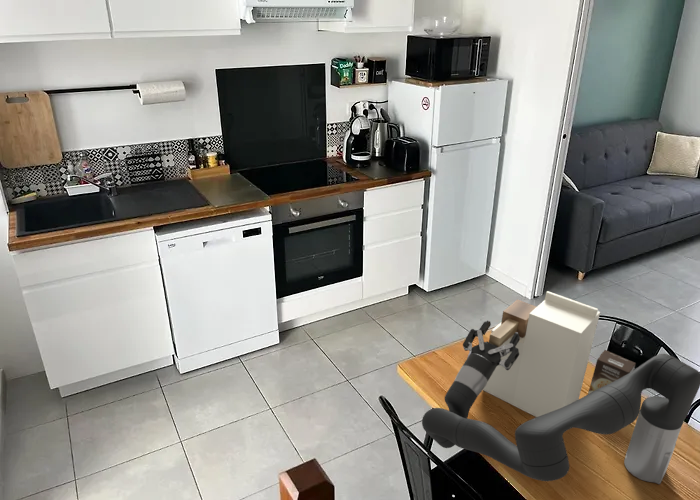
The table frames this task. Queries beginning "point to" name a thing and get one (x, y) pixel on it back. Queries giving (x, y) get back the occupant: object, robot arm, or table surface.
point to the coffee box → (609, 370)
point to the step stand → (548, 357)
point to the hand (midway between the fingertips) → (503, 327)
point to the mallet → (512, 322)
